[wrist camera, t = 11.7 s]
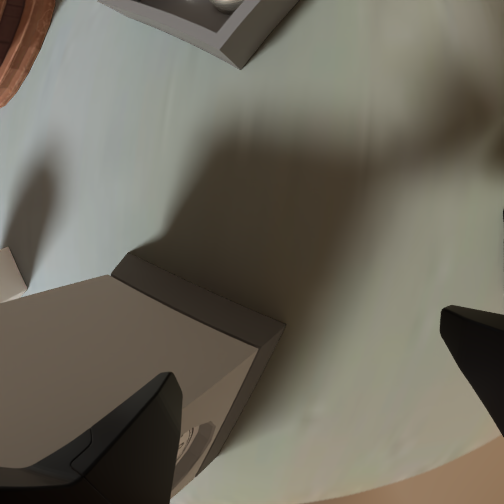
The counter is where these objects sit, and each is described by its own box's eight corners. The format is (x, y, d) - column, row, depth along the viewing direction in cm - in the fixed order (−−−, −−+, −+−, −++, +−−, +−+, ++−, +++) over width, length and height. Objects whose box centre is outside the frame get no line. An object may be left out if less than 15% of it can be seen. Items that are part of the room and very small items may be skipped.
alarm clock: (215, 457, 28) (143, 597, 9) (99, 393, 30) (-3, 498, 11) (286, 324, 21) (163, 628, 2) (107, 241, 23) (-112, 352, 4)
